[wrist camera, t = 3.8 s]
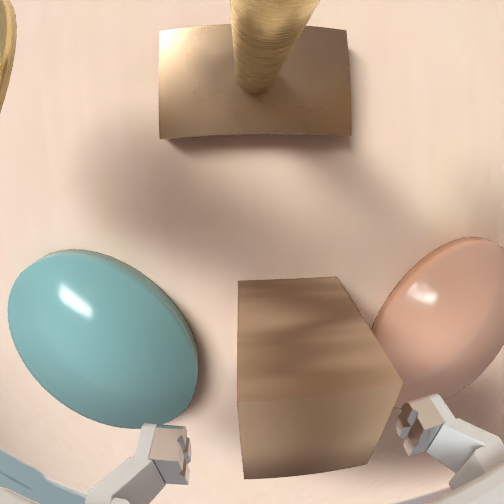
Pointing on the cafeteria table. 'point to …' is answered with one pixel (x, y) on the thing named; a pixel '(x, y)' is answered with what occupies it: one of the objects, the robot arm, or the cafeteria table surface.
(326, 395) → the block
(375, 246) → the cafeteria table surface
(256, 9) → the balance
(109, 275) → the teal dome
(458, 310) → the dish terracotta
